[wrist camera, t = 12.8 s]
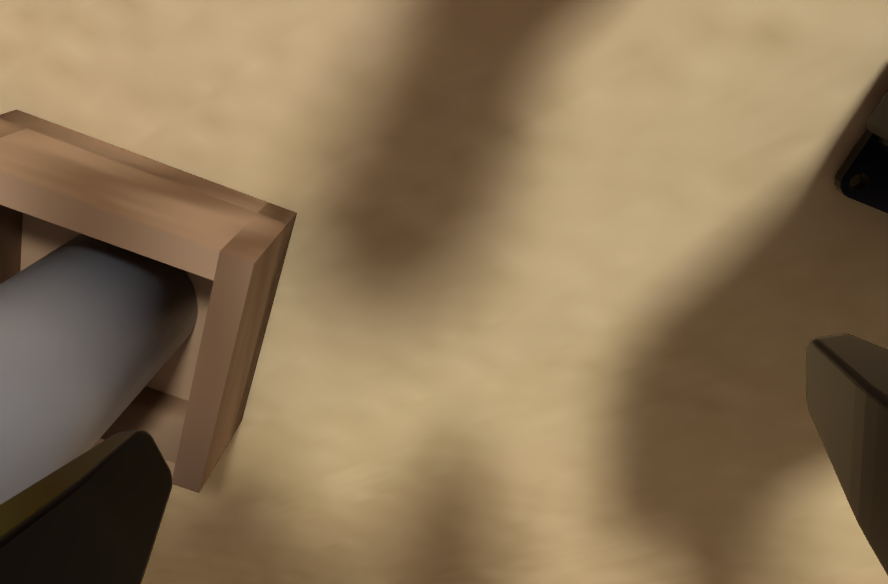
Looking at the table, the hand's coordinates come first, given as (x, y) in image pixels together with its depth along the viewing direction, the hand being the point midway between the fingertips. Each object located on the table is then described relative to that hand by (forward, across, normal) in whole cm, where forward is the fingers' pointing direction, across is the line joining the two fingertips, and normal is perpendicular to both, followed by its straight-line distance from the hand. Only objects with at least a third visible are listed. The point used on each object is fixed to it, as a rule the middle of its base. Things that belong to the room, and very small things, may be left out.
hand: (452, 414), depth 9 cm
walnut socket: (+13, +13, +2) cm, 19 cm away
